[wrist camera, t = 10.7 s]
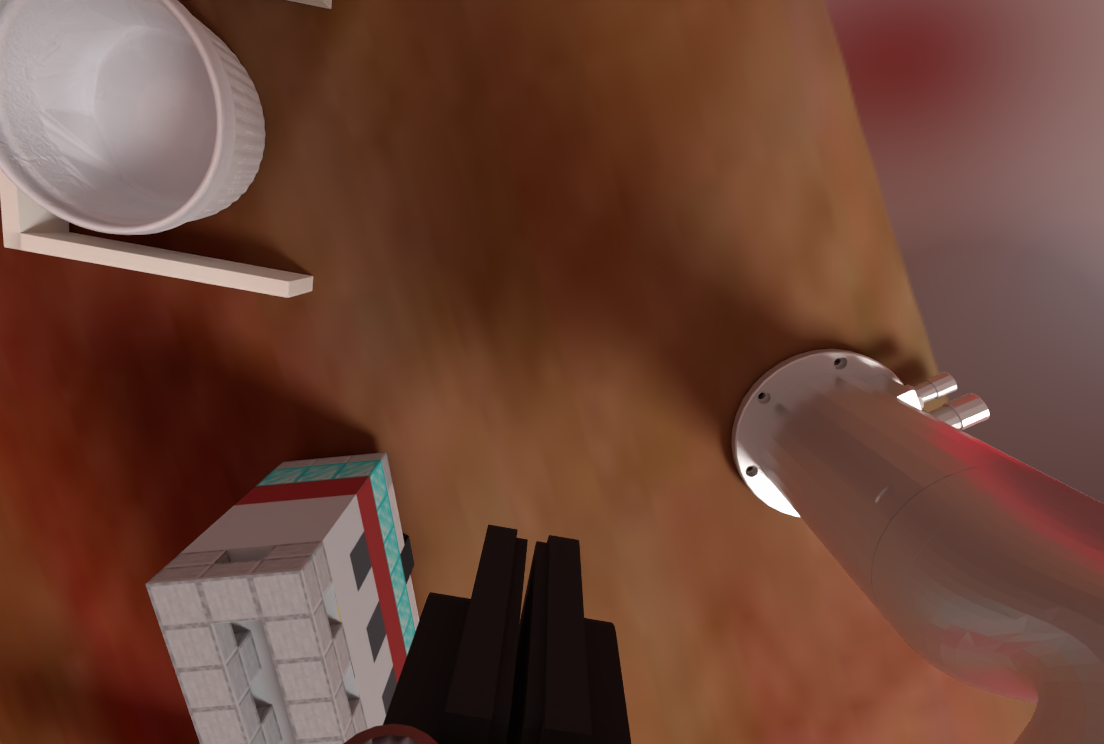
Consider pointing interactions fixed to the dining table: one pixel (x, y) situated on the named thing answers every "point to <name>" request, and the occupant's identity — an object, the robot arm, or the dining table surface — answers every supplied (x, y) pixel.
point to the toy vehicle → (293, 607)
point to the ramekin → (124, 113)
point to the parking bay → (135, 245)
